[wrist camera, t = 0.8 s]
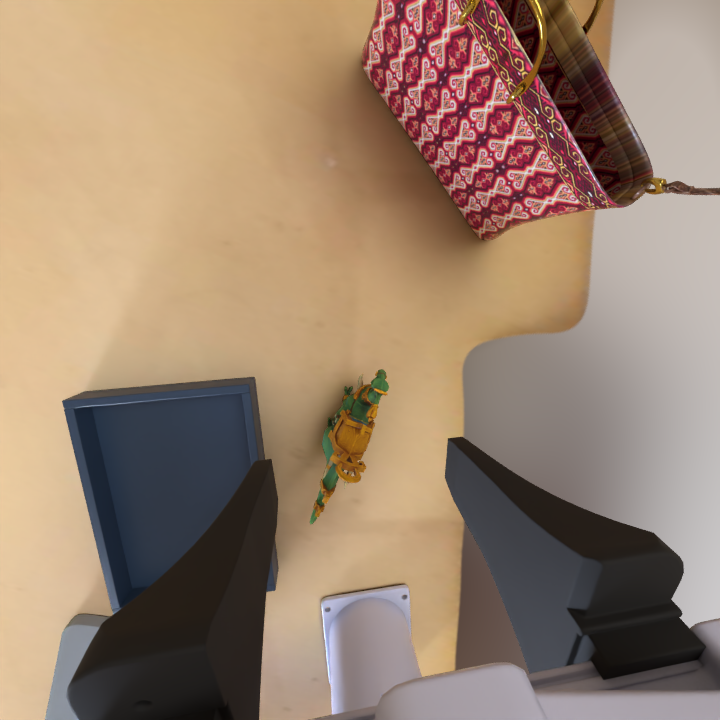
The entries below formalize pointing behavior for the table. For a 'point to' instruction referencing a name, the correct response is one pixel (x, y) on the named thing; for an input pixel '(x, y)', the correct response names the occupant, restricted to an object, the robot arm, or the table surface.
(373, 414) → the figurine
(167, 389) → the tray
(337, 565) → the table surface
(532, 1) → the handbag
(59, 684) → the shower valve
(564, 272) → the table surface
